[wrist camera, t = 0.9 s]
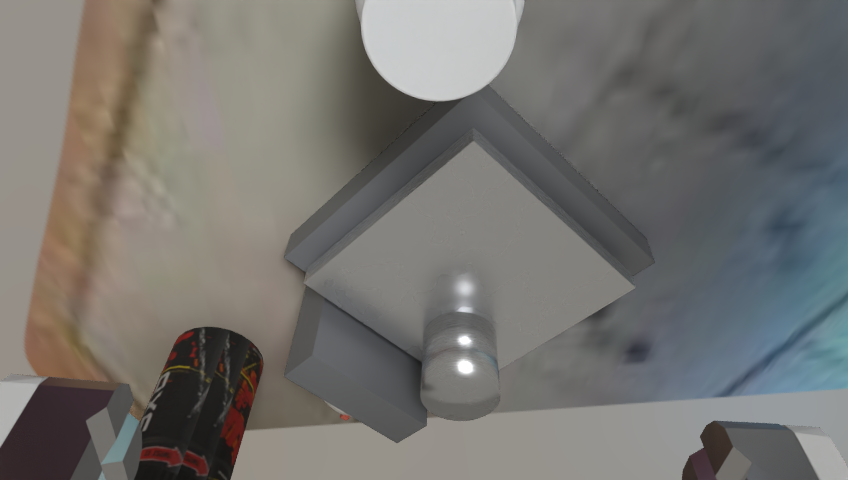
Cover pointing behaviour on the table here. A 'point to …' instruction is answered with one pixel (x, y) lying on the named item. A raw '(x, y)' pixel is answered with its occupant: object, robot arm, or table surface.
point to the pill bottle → (439, 43)
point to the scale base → (400, 162)
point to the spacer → (460, 367)
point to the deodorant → (200, 407)
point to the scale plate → (470, 257)
